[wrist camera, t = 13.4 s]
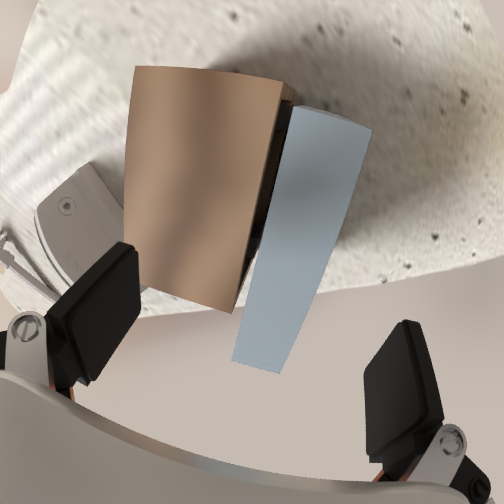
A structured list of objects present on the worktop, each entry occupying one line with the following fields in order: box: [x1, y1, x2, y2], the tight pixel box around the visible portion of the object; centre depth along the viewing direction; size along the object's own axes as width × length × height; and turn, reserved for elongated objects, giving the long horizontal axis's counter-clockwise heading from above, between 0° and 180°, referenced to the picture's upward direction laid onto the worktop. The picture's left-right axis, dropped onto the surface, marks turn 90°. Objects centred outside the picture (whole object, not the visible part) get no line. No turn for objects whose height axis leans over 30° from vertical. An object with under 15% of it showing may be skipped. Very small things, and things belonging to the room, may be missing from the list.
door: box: [232, 105, 373, 374], centre depth 19 cm, size 4×14×15 cm, turn 168°
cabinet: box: [124, 66, 295, 314], centre depth 22 cm, size 14×16×10 cm
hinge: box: [34, 162, 148, 294], centre depth 30 cm, size 17×5×10 cm, turn 35°
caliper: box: [0, 231, 60, 304], centre depth 39 cm, size 20×1×6 cm, turn 49°
